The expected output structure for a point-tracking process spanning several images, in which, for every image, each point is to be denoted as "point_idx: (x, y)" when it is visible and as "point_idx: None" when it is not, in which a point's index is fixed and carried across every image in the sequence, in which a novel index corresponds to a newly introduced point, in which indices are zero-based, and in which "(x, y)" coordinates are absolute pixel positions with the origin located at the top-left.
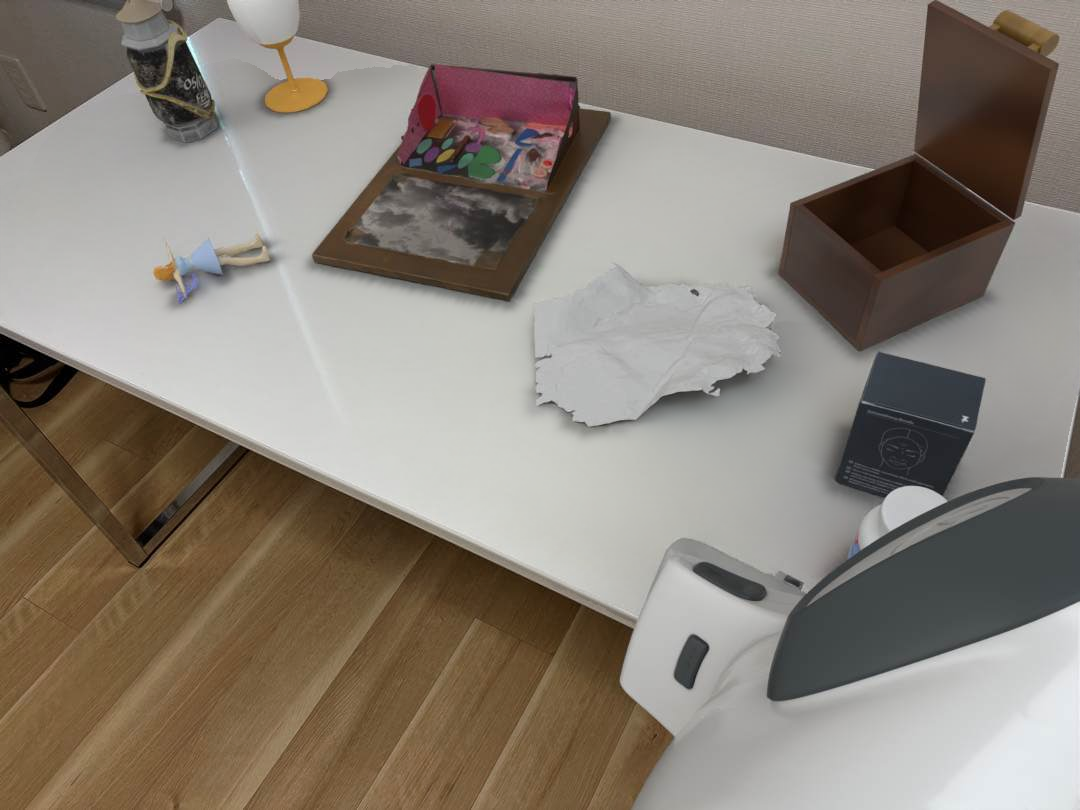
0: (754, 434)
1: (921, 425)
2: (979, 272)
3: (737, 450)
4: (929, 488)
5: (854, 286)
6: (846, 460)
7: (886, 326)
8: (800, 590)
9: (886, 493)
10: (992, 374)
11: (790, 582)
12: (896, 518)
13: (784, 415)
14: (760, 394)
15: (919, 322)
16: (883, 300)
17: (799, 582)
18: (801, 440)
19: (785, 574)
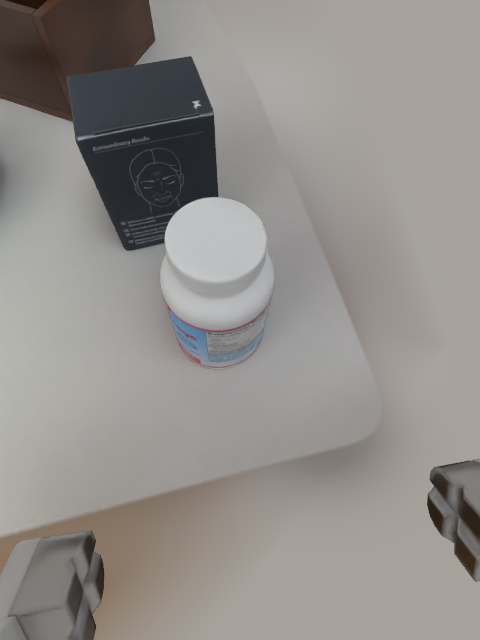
0: (26, 249)
1: (158, 136)
2: (138, 7)
3: (17, 275)
4: None
5: (28, 48)
6: (118, 224)
7: None
8: (88, 556)
9: None
10: None
11: (35, 599)
12: (192, 256)
13: (46, 215)
14: (12, 207)
15: None
16: (64, 50)
17: (70, 552)
18: (75, 230)
19: (29, 552)
